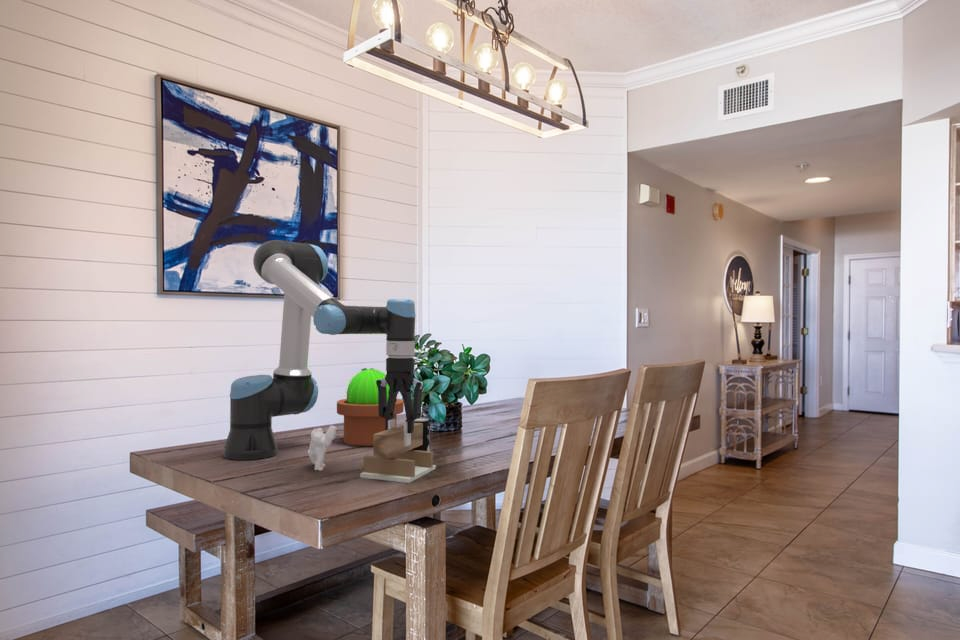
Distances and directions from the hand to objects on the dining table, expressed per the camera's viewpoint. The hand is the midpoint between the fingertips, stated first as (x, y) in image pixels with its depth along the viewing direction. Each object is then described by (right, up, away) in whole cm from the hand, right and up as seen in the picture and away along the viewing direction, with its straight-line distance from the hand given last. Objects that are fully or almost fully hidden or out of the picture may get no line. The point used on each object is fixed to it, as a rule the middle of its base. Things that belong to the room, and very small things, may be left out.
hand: (399, 444), depth 162 cm
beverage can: (+4, -8, +15) cm, 17 cm away
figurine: (-22, -8, +5) cm, 24 cm away
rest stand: (0, -8, 0) cm, 8 cm away
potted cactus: (-15, -8, +42) cm, 45 cm away
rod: (0, -2, 0) cm, 2 cm away
